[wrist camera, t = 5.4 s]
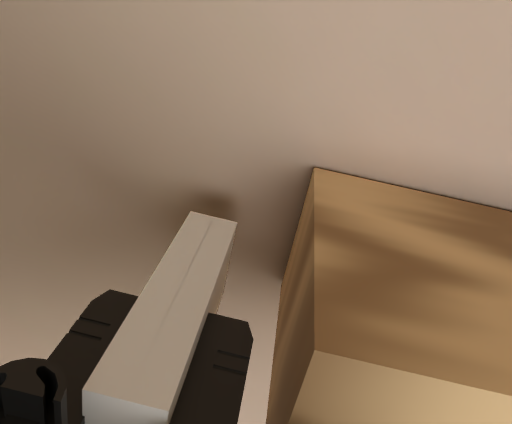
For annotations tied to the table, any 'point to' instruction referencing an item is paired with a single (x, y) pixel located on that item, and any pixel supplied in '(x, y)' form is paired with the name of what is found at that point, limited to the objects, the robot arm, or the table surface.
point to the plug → (394, 309)
